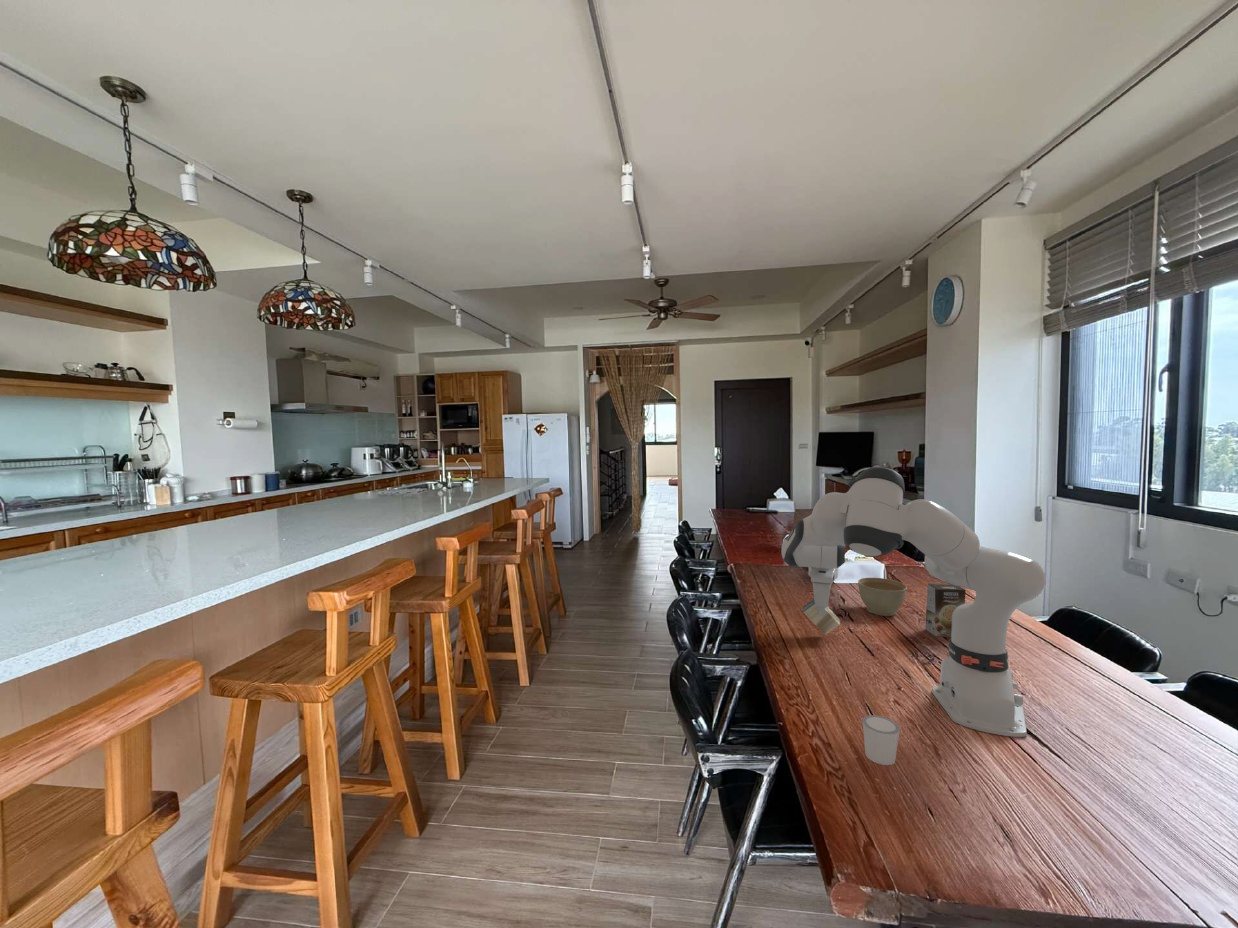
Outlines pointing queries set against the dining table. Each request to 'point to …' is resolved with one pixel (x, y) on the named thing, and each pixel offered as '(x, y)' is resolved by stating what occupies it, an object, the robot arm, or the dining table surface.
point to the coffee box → (942, 607)
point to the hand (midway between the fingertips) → (822, 612)
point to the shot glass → (880, 739)
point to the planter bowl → (882, 595)
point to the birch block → (821, 617)
